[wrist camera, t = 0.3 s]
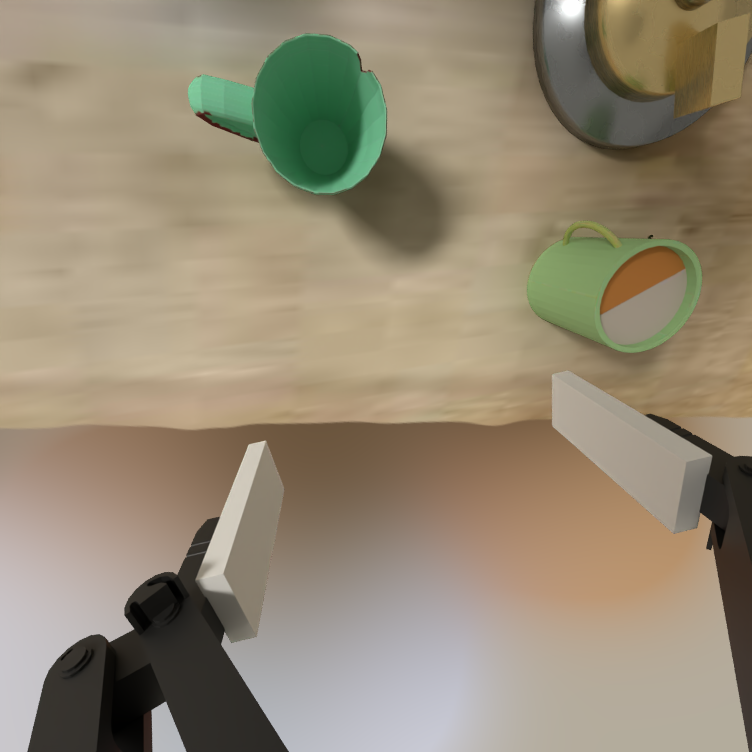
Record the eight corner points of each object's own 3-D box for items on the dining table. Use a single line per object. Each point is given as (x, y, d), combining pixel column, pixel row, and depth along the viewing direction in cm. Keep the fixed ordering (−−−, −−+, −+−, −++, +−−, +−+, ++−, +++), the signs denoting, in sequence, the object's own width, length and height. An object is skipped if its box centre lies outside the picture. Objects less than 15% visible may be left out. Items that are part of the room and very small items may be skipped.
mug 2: (618, 295, 44) (712, 316, 33) (542, 337, 45) (609, 371, 34) (592, 196, 40) (693, 183, 29) (508, 245, 41) (573, 251, 30)
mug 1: (381, 101, 34) (399, 53, 25) (365, 212, 38) (375, 205, 29) (221, 61, 32) (175, -8, 23) (219, 183, 35) (179, 166, 26)
